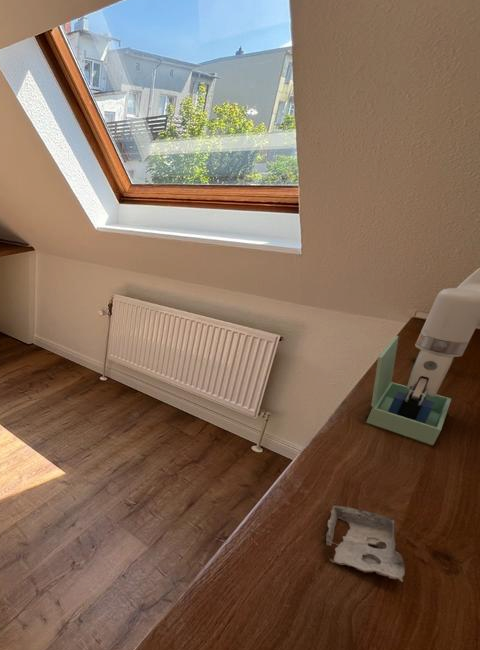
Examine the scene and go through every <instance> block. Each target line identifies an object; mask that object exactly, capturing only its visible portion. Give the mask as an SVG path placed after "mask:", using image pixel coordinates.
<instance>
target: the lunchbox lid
mask: <svg viewBox="0 0 480 650" xmlns="http://www.w3.org/2000/svg"><path fill="white" fill-rule="evenodd" d="M399 338H400V336H399V335H395V336H394V337H393V338H392V340H391V341H390V342H389V343H388V345H386V347H385V348H384V350H383V351H382V352H381V353H380V354H379V356H378V357H377V364H376V371H375V376H374V377H375V378H374V383H373V391H372V399H371V405H370V406H371V408H373V407H375V405H376V404H377V402H378V401H379V399H380V398H381V396H382V395H383V393H384V391H385V390H386V388H387V387H388V385H389V384H390V382H393V381H392V380H393V375H394V369H395V362H396V357H397V349H398V343H399Z"/></svg>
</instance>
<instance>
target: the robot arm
mask: <svg viewBox="0 0 480 650" xmlns="http://www.w3.org/2000/svg"><path fill="white" fill-rule="evenodd" d="M477 327H480V267H479V268H477V269H475V271H473V272H472V273H471V274H470V275H469V276H468V277H466V278H465V279H464V280H463V281H462V282H461V283H460V284H459V285H458V286H457V287H450V288H444V289H442V290H440V291H439V292H438V294H437V295H436V297H435V300H434V301H433V304H432V307H430V311H429V313H428V315H427V317H426V320H425V322H424V324H423V326H422V328H421V330H420V333H419V335H418V338H417V339H416V341H415V344H414V346H415V348H417V349H419V351H420V349H421V351H420V353H419V352H418V353H419V355H418V354H417V355H418V357H417V356H416V358H417V360H416V359H415V360H416V362H415V361H414V364H413V366H412V369H411V372H410V375H409V378H408V382H407V385H406V386H407V389H408V390H409V389H410V390H409V393H407V394H408V395H407V397H406V399H405V400H403V402H402V405H401V407H400V409H399V411H398V413H397V414H398V415H399V416H403V417H406V418H409V419H412V420H415V419H416V418H417V415H418V413H419V411H420V409H421V407H422V405H421V404H422V402H423V400H424V399H425V396H426V393H427V394H428V395H431V397H434V396H436V395H438V391H439V390H440V387H442V384H443V381H444V379H445V378H446V376H447V373H448V371H449V370H450V368H451V365H452V363H453V361H454V358H459V357H462V356H463V355H464V353H465V350H466V349H467V347H468V345H469V343H470V340H471V339H472V337H473V335H474V332H475V330H476V328H477ZM414 388H415V389H414Z"/></svg>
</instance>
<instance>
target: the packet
mask: <svg viewBox="0 0 480 650" xmlns="http://www.w3.org/2000/svg"><path fill="white" fill-rule="evenodd" d="M407 395H408V394H405V393H402V392H397V394H396V395H395V397H394V399H393V402H392V404H391V406H390V408H389V410H388V412H390V413H393V414H396V415H398V414H397V413H398V411H399V409H400V407H401V405H402V402H403V400H405V399H406V397H407ZM434 403H435V402H433V401H429V400H426V399H424V400H423V402H422V404H421V405H422V407H421V409H420V411H419V413H418V415H417V418H416V419H415V421H418V422H421V423H424V424H425V422H426V420H427V418H428V416H429V414H430V412H431V410H432V408H433V405H434ZM402 417H403V416H402ZM405 418H406V417H405Z"/></svg>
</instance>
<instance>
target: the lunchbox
mask: <svg viewBox="0 0 480 650" xmlns="http://www.w3.org/2000/svg"><path fill="white" fill-rule="evenodd" d="M414 389H415V388H414ZM409 390H410V389H409ZM409 390H408V389H407V385H404V384H400V383H396V382H393V381H391V382H390V384H389V385H388V387H387V388H386V390H385V391H384V393H383V395H382V396H381V398H380V399H379V401H378V402H377V404H376V405H375V407H371V409H370V412H369V415H368V417H367V420H366V421H365V423H366V424H370V425H373V426H375V427H378V428H380V429H384V430H387V431H390V432H392V433H394V434H395V433H396V434H399V435H401V436H404V437H408V438H410V439H413V440H416V441H418V442H422V443H424V444H427V445H430V446H434V445H435V443H436V441H437V439H438V437H439V435H440V433H441V431H442V429H443V427H444V426H443V425H444V423H445V420H446V417H447V413H448V411H449V407H450V405H451V401H452V398H451V397H446V396H443V395H440V394H436V396H434V397H431V395H428V394H427V393H426V396H425V399H426V400H429V401H433V402H435V403H434V405H433V408H432V410H431V412H430V414H429V416H428V418H427V420H426V422H425V424H424V423H421V422H418V421H415V420H412V419H409V418H405V417H402V416H399V415H396V414H393V413H390V412H388V410H389V408H390V406H391V404H392V402H393V399H394V397H395V395H396V394H397V392H402V393H405V394H407V393H409Z"/></svg>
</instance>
